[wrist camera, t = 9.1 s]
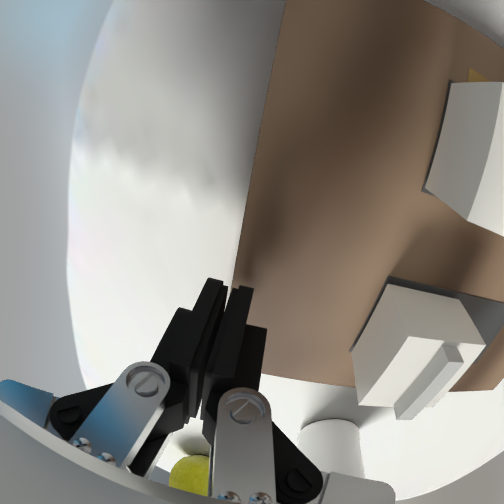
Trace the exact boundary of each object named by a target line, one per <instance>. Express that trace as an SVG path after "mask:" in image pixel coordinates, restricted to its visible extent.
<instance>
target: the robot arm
mask: <svg viewBox="0 0 504 504" xmlns="http://www.w3.org/2000/svg"><path fill="white" fill-rule="evenodd" d="M227 292H228V286H224V285H223V281H221V280H217V279H212V278H208V279H207V281H206V283H205V285H204V287H203V289H202V291H201V293H200V295H199V297H198V300H197V302H196V304H195V306H194V308H193V310H192V311H191V310H188V309H184V308H180V307H179V308H178V309H177V311H176V312H175V314H174V316H173V318H172V320H171V322H170V324H169V326H168V328H167V330H166V331H165V333H164V335H163V337H162V339H161V341H160V343H159V345H158V347H157V349H156V351H155V353H154V355H153V357H152V359H151V361H150V362H144V361H142V362H137V363H134V364H132V365H130V366H128V367H127V368H126V369H125V370H124V371H123V372H122V374H121V375H120V376H119V378H118V379H117V380H116V381H115V383H111V384H108V385H104V386H101V387H97V388H94V389H90V390H86V391H83V392H79V393H75V394H71V395H67V396H64V397H61V398H59V397H55V395H54V394H53V393H49V392H46V391H43V390H40V389H36V388H33V387H30V386H28V385H25V384H22V383H19V382H16V381H13V380H3V381H1V382H0V504H395V492H394V490H393V488H392V487H391V486H390V485H389V484H387V483H384V482H380V481H374V480H369V479H363V478H358V477H354V476H349V475H344V474H340V473H336V472H332V471H331V472H330V473H327V472H323V471H320V470H319V469H318V468H317V467H316V466H315V465H314V464H313V463H312V462H311V461H310V460H309V459H308V458H307V457H306V456H305V455H304V454H303V453H302V452H301V451H300V450H299V449H298V448H297V447H296V446H295V445H294V444H293V443H292V442H291V441H290V440H289V439H288V437H287V436H286V435H285V434H284V433H283V432H282V431H281V430H280V429H279V428H278V427H277V426H276V425H275V424H274V422H273V421H272V419H271V408H270V404H269V402H268V401H267V399H266V398H265V397H264V396H263V395H262V394H261V393H260V392H258V390H259V383H260V377H261V370H262V364H263V357H264V350H265V343H266V336H267V328H262V327H258V326H253V325H249V324H246V323H247V318H248V314H249V309H250V305H251V301H252V296H253V292H254V288H251V287H247V286H242V285H239V288H238V289H237V288H232V291H231V294H230V297H229V300H228V303H227V306H226V309H225V304H226V298H227ZM224 310H225V312H224ZM201 400H202V405H201V416H200V420H204V421H203V429H202V434H203V435H204V437H205V438H206V439H207V441H208V442H209V444H210V445H211V446H210V459H209V474H208V490H207V496H203V495H199V494H195V493H191V492H187V491H184V490H180V489H177V488H173V487H170V486H167V485H164V484H160V483H157V482H154V481H152V480H149V479H148V477H149V475H150V474H151V472H152V470H153V469H154V467H155V465H156V463H157V462H158V460H159V458H160V456H161V455H162V453H163V451H164V449H165V448H166V446H167V444H168V442H169V441H170V439H171V437H172V435H173V432H175V431H177V430H180V429H182V428H183V426H184V423H185V424H188V422H189V419H190V417H193V418H196V416H197V413H198V409H199V406H200V403H201Z"/></svg>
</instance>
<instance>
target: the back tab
mask: <svg viewBox="0 0 504 504" xmlns="http://www.w3.org/2000/svg"><path fill="white" fill-rule="evenodd" d="M485 346H486V344H485V342H484V340H483V339H482V337H481V335H480V333H479V331H478V330H477V328H476V326H475V325H474V323H473V321H472V320H471V318H470V316H469V315H468V313H467V311H466V310H465V308H464V306H463V305H462V303H461V302H460V300H459V299H455V298H450V297H446V296H441V295H437V294H432V293H428V292H423V291H419V290H414V289H410V288H405V287H401V286H396V285H392V284H387V286H386V288H385V290H384V292H383V294H382V296H381V298H380V301H379V302H378V304H377V306H376V308H375V310H374V312H373V314H372V316H371V318H370V320H369V322H368V324H367V326H366V327H365V329H364V331H363V333H362V335H361V336H360V338H359V340H358V342H357V344H356V345H355V347H354V349H353V350H352V352H351V354H352V361H353V368H354V376H355V383H356V391H357V400H358V405H363V406H380V407H394V410H395V415H396V420H412V419H413V418H414V417H415V416H416V415H417V414H418V413H419V412H420V411H421V410H422V409H423V408H424V407H434V406H435V405H436V403H437V402H438V401H439V400H440V399H441V398H442V397H443V396H444V395H445V394H446V393H447V392H448V391H449V390H450V389H451V388H452V387H453V385H454V384H455V383H456V382H457V381H458V380H459V379H460V377H461V376H462V375H463V374H464V373H465V372H466V370H467V369H468V368H469V367H470V366H471V364H472V363H473V362H474V361H475V359H476V358H477V357H478V355H479V354H480V353H481V352H482V350H483V349H484V348H485Z"/></svg>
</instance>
